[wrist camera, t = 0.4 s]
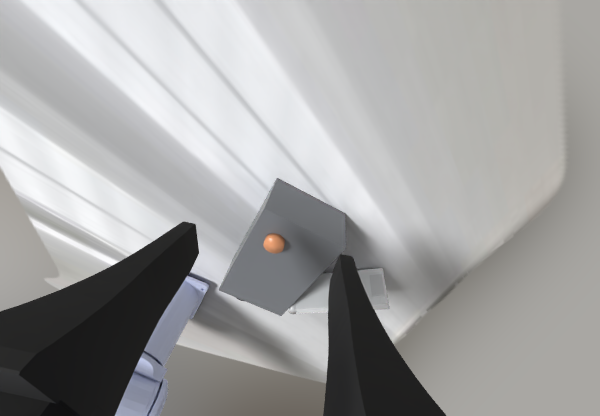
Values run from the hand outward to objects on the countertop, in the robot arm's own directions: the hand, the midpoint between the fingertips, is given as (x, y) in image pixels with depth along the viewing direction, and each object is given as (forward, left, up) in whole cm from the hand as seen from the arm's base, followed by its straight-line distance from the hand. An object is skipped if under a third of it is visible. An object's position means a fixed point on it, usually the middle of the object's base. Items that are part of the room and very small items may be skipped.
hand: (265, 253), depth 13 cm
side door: (-13, -7, -10) cm, 18 cm away
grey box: (-8, -3, -10) cm, 13 cm away
